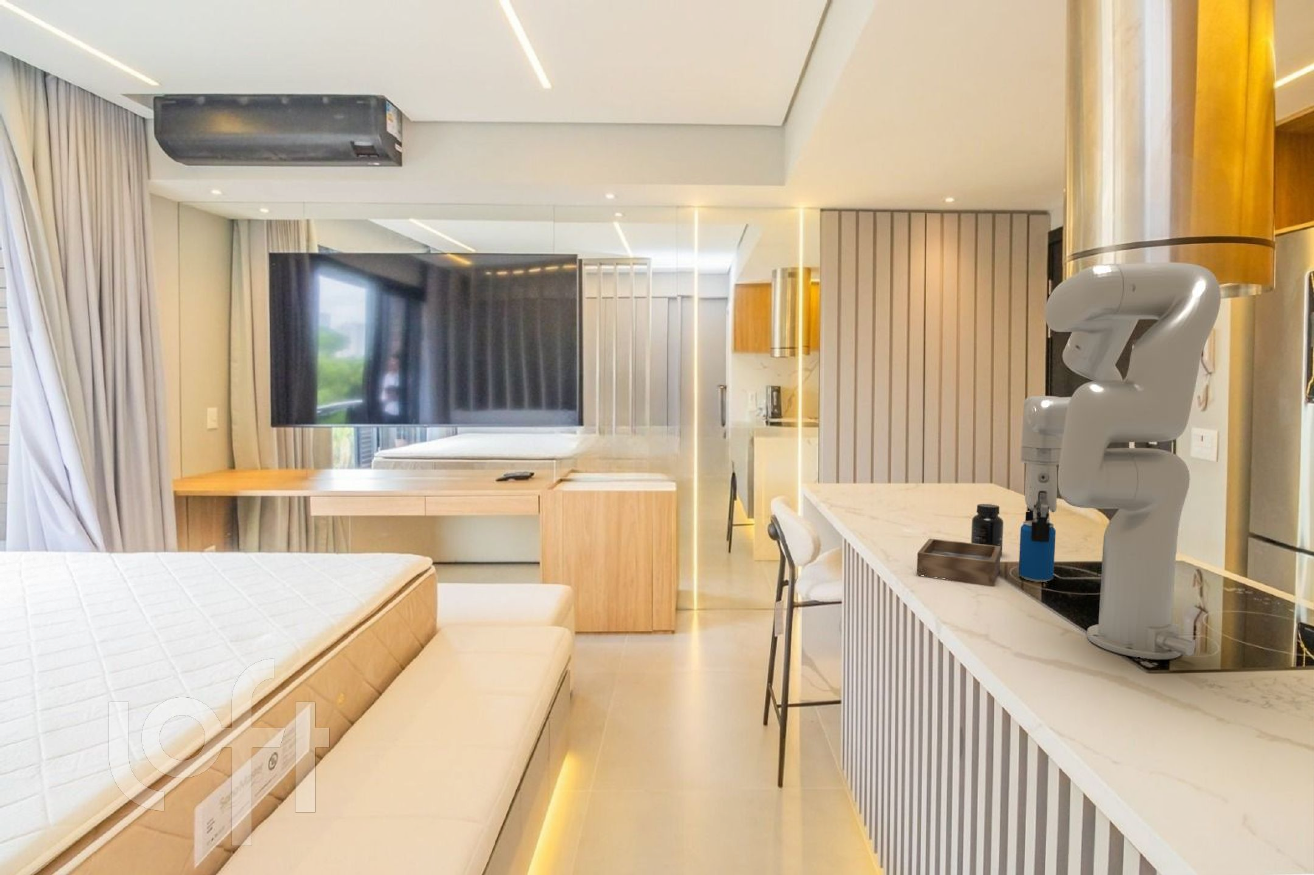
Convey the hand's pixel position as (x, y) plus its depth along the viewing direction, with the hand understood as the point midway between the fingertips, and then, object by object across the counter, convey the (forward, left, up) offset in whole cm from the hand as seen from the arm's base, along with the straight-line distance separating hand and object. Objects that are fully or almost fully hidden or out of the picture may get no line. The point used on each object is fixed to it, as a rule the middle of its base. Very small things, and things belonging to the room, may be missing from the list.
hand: (1036, 535), depth 146 cm
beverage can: (-1, 0, -10) cm, 9 cm away
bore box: (+9, +11, -9) cm, 17 cm away
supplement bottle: (+18, -6, -10) cm, 21 cm away
